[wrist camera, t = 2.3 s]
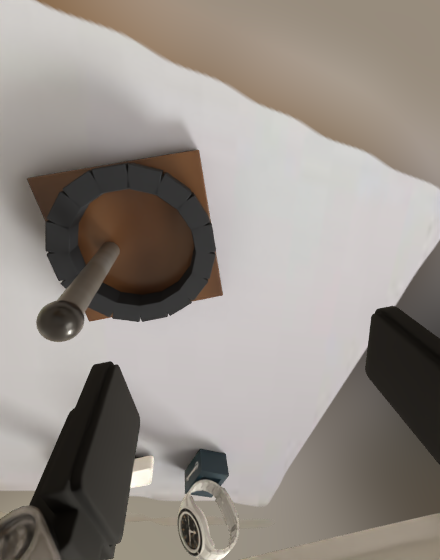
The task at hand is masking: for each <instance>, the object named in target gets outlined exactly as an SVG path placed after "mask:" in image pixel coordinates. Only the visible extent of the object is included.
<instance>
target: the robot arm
mask: <svg viewBox="0 0 440 560" xmlns="http://www.w3.org/2000/svg"><path fill="white" fill-rule="evenodd" d="M365 370H366V374H367V376H368V377H369V379H370V380H371V381H372V382H373V384H374V385H375V386H376V387H377V389H378V390H379V391H380V392H381V393H382V395H383V396H384V397H385V398H386V399H387V401H388V402H389V403H390V405H391V406H392V407H393V408H394V409H395V411H396V412H397V413H398V414H399V415H400V417H401V418H402V419H403V420H404V422H405V423H406V424H407V425H408V426H409V428H410V429H411V430H412V431H413V433H414V434H415V435H416V436H417V438H418V439H419V440H420V441H421V443H422V444H423V445H424V446H425V447H426V449H427V450H428V451H429V452H430V454H431V455H432V456H433V457H434V459H435V460H436V461H437V462H438V463H439V464H440V339H439V338H438V337H437V336H435V335H434V334H432V333H431V332H430V331H428V330H427V329H426V328H424V327H423V326H422V325H420V324H419V323H418V322H416V321H415V320H413V319H412V318H411V317H409V316H408V315H407V314H405V313H404V312H403V311H401V310H400V309H399V308H397V307H395V306H390V307H385V308H380V309H377V310H376V311H375V314H373V315H372V317H371V325H370V333H369V341H368V350H367V358H366V366H365ZM139 428H140V417H139V414H138V411H137V409H136V406H135V404H134V401H133V399H132V397H131V394H130V392H129V389H128V387H127V384H126V382H125V379H124V377H123V375H122V372H121V370H120V367H119V366H118V365H114V364H113V363H112V362H105V363H100V364H95V365H93V367H92V369H91V371H90V373H89V376H88V378H87V381H86V383H85V385H84V388H83V390H82V393H81V395H80V397H79V400H78V402H77V405H76V407H75V409H73V410H72V411H71V412H70V413H69V415H68V417H67V419H66V422H65V424H64V426H63V428H62V431H61V433H60V435H59V438H58V440H57V442H56V445H55V447H54V449H53V452H52V454H51V456H50V459H49V461H48V463H47V465H46V468H45V470H44V472H43V475H42V477H41V479H40V482H39V484H38V486H37V489H36V491H35V494H34V496H33V498H32V500H31V502H30V505H29V506H22V507H20V508H18V509H15V510H13V511H11V512H10V513H8V514H7V515H5V516H4V517H2V518H1V519H0V560H108V559H112V558H114V551H115V546H116V544H118V543H120V542H121V539H122V536H123V530H124V524H125V517H126V511H127V504H128V498H129V492H130V485H131V479H132V473H133V466H134V460H135V453H136V447H137V441H138V434H139ZM241 560H440V513H437V514H432V515H428V516H424V517H419V518H415V519H411V520H407V521H402V522H397V523H393V524H389V525H384V526H380V527H376V528H372V529H367V530H363V531H359V532H354V533H351V534H346V535H342V536H337V537H334V538H329V539H325V540H320V541H316V542H312V543H308V544H303V545H299V546H295V547H291V548H286V549H282V550H278V551H274V552H270V553H265V554H261V555H257V556H253V557H249V558H245V559H241Z"/></svg>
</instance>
